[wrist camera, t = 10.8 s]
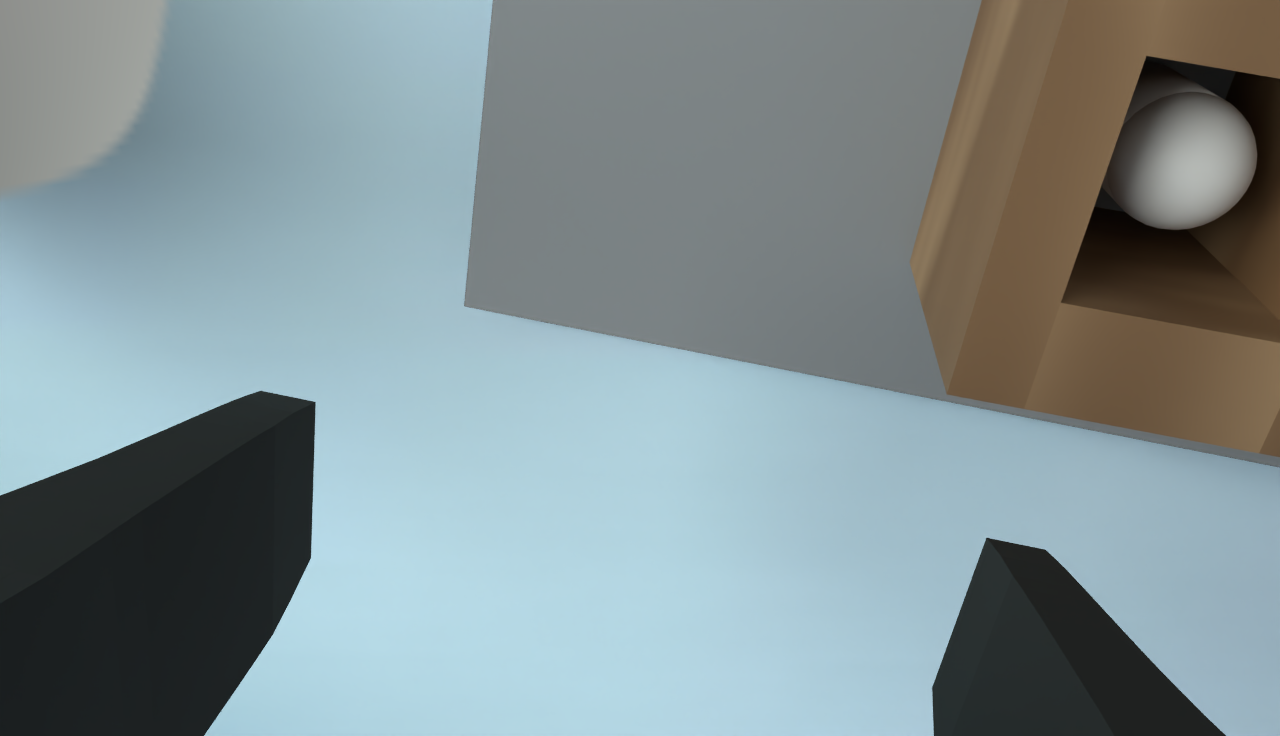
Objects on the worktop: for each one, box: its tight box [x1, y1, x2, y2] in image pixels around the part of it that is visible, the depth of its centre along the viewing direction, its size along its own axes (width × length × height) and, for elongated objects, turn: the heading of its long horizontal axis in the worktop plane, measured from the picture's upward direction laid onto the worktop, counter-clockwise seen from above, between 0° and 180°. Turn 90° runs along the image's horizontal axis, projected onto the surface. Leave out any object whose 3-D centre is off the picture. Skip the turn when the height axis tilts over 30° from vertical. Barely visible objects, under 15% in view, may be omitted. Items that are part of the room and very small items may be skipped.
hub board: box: [464, 0, 1280, 467], centre depth 15 cm, size 20×14×5 cm
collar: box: [910, 0, 1280, 457], centre depth 15 cm, size 5×6×5 cm
